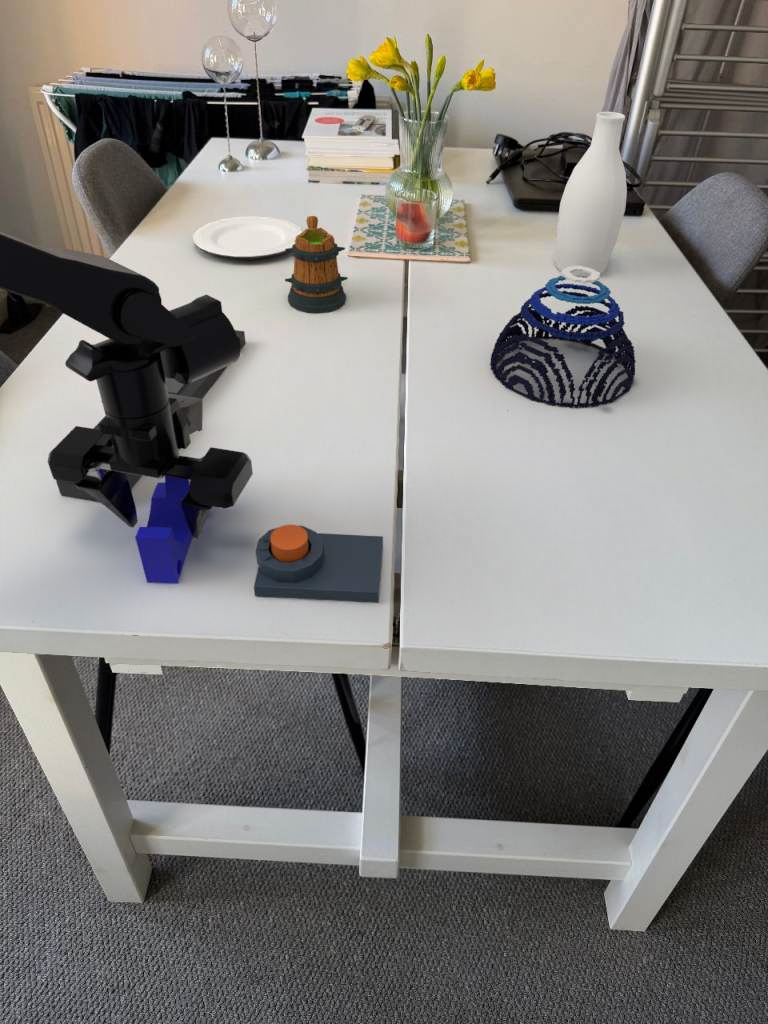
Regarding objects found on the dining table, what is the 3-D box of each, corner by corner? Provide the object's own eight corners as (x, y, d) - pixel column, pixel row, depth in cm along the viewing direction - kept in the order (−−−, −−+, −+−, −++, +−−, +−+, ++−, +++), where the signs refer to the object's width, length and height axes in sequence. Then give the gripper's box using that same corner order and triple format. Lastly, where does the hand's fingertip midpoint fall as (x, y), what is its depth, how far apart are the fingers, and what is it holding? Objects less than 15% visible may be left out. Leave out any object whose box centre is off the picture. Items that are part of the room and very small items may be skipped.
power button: (268, 561, 71) (267, 548, 69) (274, 536, 73) (273, 523, 72) (306, 563, 71) (305, 550, 69) (310, 538, 73) (309, 525, 72)
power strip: (118, 505, 80) (111, 481, 78) (60, 495, 81) (52, 471, 79) (245, 343, 109) (243, 322, 107) (202, 337, 111) (198, 316, 108)
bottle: (599, 285, 129) (634, 126, 112) (540, 271, 133) (566, 116, 116) (618, 265, 136) (655, 113, 119) (562, 252, 140) (589, 103, 124)
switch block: (252, 596, 71) (249, 574, 69) (266, 540, 77) (264, 518, 75) (378, 602, 70) (379, 580, 68) (382, 545, 77) (383, 524, 75)
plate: (182, 233, 143) (181, 223, 142) (283, 220, 150) (283, 210, 149) (210, 272, 129) (208, 262, 128) (320, 256, 136) (320, 246, 135)
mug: (350, 312, 118) (350, 241, 111) (287, 315, 117) (282, 243, 109) (343, 280, 128) (342, 212, 120) (284, 281, 127) (280, 213, 119)
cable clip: (162, 503, 81) (152, 460, 77) (203, 504, 81) (195, 461, 77) (131, 581, 72) (119, 536, 68) (177, 583, 72) (167, 538, 68)
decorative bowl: (545, 324, 117) (562, 234, 107) (657, 372, 106) (687, 275, 97) (463, 366, 106) (473, 269, 96) (579, 423, 95) (603, 320, 86)
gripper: (265, 372, 70) (276, 497, 81) (88, 347, 73) (121, 471, 83) (220, 435, 62) (239, 566, 72) (23, 405, 65) (68, 534, 75)
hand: (165, 530), depth 76 cm, fingers open, 7 cm apart
